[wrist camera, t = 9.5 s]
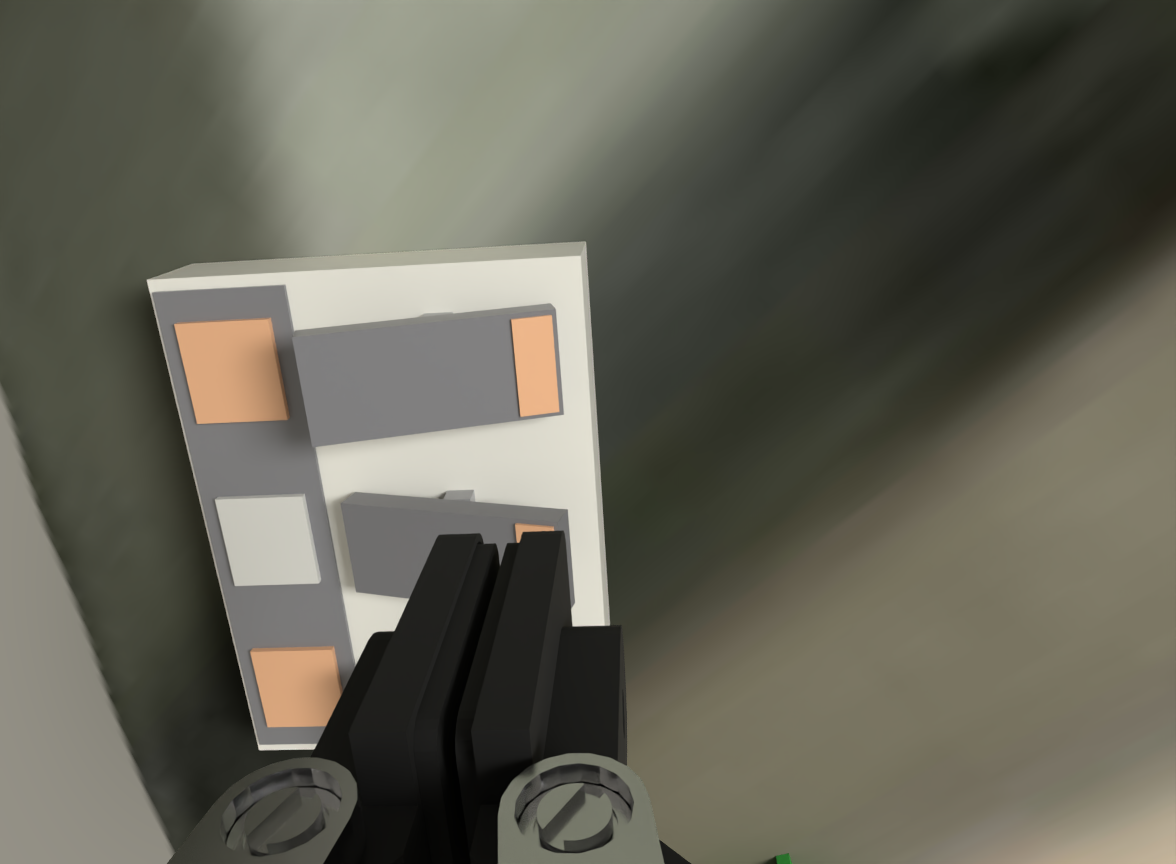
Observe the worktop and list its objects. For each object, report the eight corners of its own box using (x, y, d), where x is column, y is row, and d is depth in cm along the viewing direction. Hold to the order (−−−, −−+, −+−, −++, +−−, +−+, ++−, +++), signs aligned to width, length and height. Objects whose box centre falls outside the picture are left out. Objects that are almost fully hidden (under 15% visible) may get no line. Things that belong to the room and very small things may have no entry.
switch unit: (192, 263, 40) (133, 284, 35) (585, 241, 39) (578, 259, 34) (288, 700, 48) (250, 764, 43) (614, 692, 47) (612, 758, 42)
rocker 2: (355, 491, 39) (338, 504, 37) (567, 509, 36) (556, 523, 34) (370, 578, 40) (354, 593, 39) (575, 602, 37) (564, 619, 36)
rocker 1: (295, 330, 34) (291, 338, 32) (550, 303, 35) (556, 309, 34) (314, 437, 35) (311, 448, 34) (558, 405, 37) (564, 415, 36)
